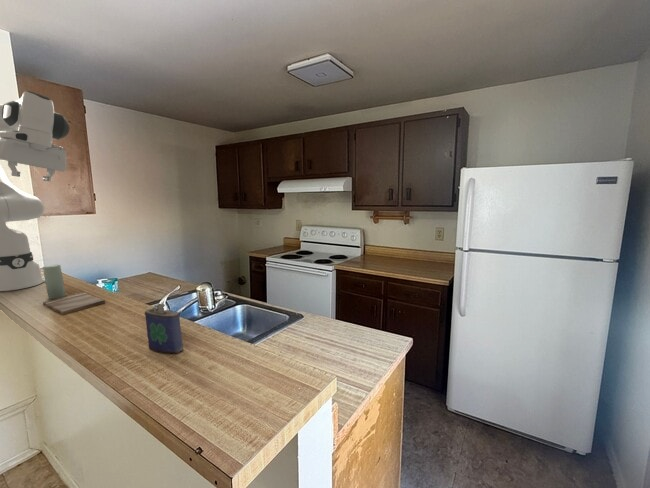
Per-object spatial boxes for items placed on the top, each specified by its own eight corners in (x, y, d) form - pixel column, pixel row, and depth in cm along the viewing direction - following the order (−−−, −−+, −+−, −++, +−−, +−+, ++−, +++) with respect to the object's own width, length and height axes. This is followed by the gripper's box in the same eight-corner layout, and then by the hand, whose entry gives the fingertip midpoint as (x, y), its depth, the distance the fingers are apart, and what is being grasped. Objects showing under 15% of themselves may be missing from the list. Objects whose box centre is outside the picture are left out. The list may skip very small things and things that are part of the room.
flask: (186, 349, 74) (180, 304, 72) (175, 356, 71) (169, 309, 69) (155, 343, 78) (149, 300, 76) (144, 350, 75) (137, 304, 73)
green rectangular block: (46, 297, 117) (40, 267, 115) (63, 293, 121) (57, 264, 119) (51, 299, 114) (45, 268, 112) (68, 295, 118) (62, 265, 116)
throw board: (43, 305, 109) (42, 301, 109) (83, 294, 119) (83, 292, 119) (62, 314, 99) (62, 311, 99) (104, 302, 109) (104, 299, 109)
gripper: (60, 147, 120) (57, 182, 121) (-8, 129, 101) (-11, 172, 101) (72, 148, 119) (69, 184, 120) (5, 131, 99) (2, 174, 100)
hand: (31, 178), depth 110 cm, fingers open, 8 cm apart
